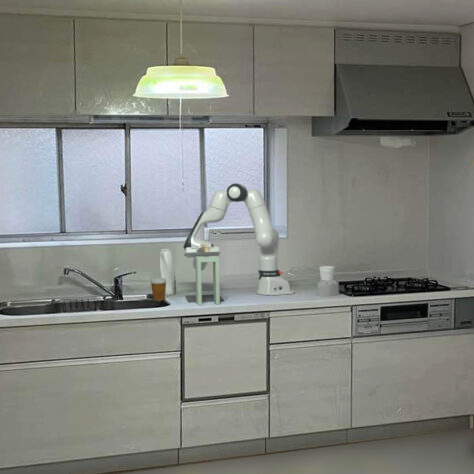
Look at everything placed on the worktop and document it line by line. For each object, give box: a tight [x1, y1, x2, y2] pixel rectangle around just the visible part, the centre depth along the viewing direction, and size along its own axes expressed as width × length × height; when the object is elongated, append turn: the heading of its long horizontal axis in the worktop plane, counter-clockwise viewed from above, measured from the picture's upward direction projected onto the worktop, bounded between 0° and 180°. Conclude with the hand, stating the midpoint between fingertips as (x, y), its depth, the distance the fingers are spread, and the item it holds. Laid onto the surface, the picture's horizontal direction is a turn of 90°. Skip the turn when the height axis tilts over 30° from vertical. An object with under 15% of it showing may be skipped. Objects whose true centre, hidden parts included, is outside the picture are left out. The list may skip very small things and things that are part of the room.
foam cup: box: [318, 265, 336, 281], centre depth 453 cm, size 10×9×13 cm
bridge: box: [195, 256, 221, 306], centre depth 402 cm, size 12×10×26 cm
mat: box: [185, 293, 225, 303], centre depth 420 cm, size 20×21×1 cm
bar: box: [201, 244, 209, 252], centre depth 410 cm, size 19×2×2 cm, turn 10°
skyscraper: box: [159, 248, 178, 297], centre depth 435 cm, size 8×8×28 cm
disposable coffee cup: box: [149, 277, 167, 301], centre depth 419 cm, size 10×10×12 cm
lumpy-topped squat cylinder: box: [316, 279, 340, 297], centre depth 426 cm, size 10×13×9 cm
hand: (203, 246), depth 415 cm, fingers closed on bar, 2 cm apart
